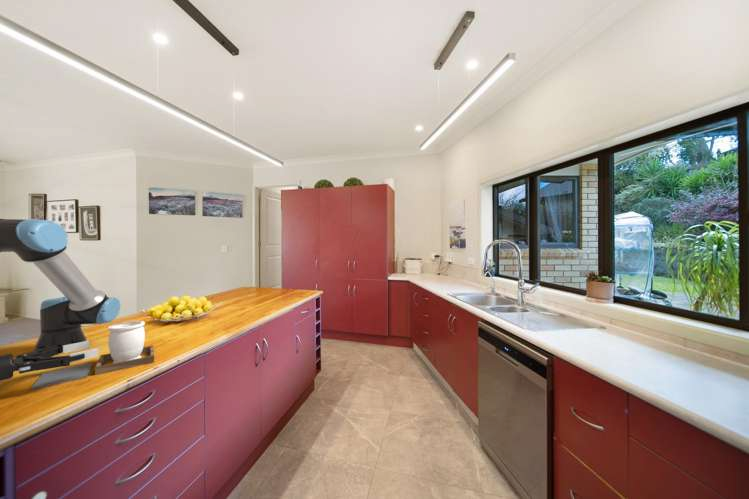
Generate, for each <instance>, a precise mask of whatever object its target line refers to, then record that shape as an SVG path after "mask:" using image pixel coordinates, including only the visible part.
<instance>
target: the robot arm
mask: <svg viewBox="0 0 749 499" xmlns="http://www.w3.org/2000/svg"><path fill="white" fill-rule="evenodd" d="M68 236H69V235H68V233H67V231H66V230H65V229H64V227H62V225H60V224H59V223H57V222H54V221H51V220H47V219H39V218H29V219H18V218H17V219H15V218H13V219H12V218H11V219H10V218H9V219H8V218H0V253H3V252H4V253H14V254H16V255H17V256H18V258H20V260H22V261H23V262H25V263H32V264H33V265H34V266H36V267H37V269H39V270H40V272H41V273H42V274H43V275H44V276H46V278H47V279H48V280H49V281H50V282H51V284H53V286H55V287H56V289H57V290H59V292H60V293H61V294H63V296H62V297H55V298H50V299H45V300H43V301H42V302H41V303H40V309H39V312H40V313H39V315H40V320H39V322H40V333H39V334H40V335H39V337H38V338H37V341H36V342H35V345H34V347H33V351H31V352H28V353H23V354H18V355H16V358H15V359H14V354H13V353H7V354H1V355H0V382H2V381H5V380H10V379H12V378H13V377H14V372H18V373H19V374H26V373H30V372H36V371H37V372H38V371H42V370H43V371H44V370H50V369H56V368H63V367H65V368H68V367H71V363H75V362H79V361H84V360H88V359H92V358H96V357H99V347H97V348H92V349H90V347H91V346H90V342H91V341H90V340H87V338H86V336H85V335H86V334H84V331H83V329H82V325H102V324H103V325H104V324H108V323H111V322H112V321H114V320H115V319H116V318H117V316H118V315H119V313H120V310H121V301H120V300H119V298H117V297H113V296H112V297H109V296H108V295H107V294H105V292H104V291H102V290H101V289H99V290H98V289H96V288H95V286H94V285H93V284H92V283H91V282H90V280H89V279H88V278H87V277H86V276H85V275H84V273H83V272H82V271H81V270H80V268H78V266H77V265H76V263H74V261H73V260H72V259H71V258H70V256H69V255H68V254H67V252H66V250H67V247H68V246H67V245H68V242H69V239H68ZM86 349H87V350H86ZM81 350H82V351H81ZM83 350H84V351H83ZM76 351H79V352H76ZM72 352H74V353H72ZM67 353H70V354H69V355H62V356H61V355H60V354H67ZM57 355H60V356H57Z"/></svg>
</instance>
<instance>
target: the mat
mask: <svg viewBox="0 0 749 499" xmlns="http://www.w3.org/2000/svg"><path fill="white" fill-rule="evenodd" d="M92 366H93V362H90V363H85V364H81V365H75V366H68V367H65V368H59V369H53V370H49V371H44V372H42V374H41V375H40V376H39V377H38V378H37V380H36V381H35V382H34V384H32V385H31V387H30V390H31V391H32V390H36V389H40V388H46V387H50V386H55V385H58V384H62V383H63V384H64V383H68V382H73V381H76V380H82V379H85V378H88V375H89V374H90V371H91V369H92Z"/></svg>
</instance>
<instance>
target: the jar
mask: <svg viewBox="0 0 749 499" xmlns="http://www.w3.org/2000/svg"><path fill="white" fill-rule="evenodd" d="M145 324H146V323H145V321H144V320H133V321H126V322H120V323H115V324H112V325H110V326H108V331H109V335H108V342H107V343H108V349H109V350H108V351H109V354H111V357H112V359H113V360H112V361H113V362H112V363H111V364H113V363H118V362H123V361H128V360H133V359H138V358H143V356H141V355H142V354H141V352H142V350H143V347H145V340H146V330H145V327H144V326H145Z"/></svg>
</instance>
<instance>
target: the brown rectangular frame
mask: <svg viewBox="0 0 749 499" xmlns="http://www.w3.org/2000/svg"><path fill="white" fill-rule="evenodd" d="M154 349H155V348H154V345H148V346H143V350H142V352H141V354H140V355H143V354H149V355H148V356H142V358H138V359H133V360H128V361H123V362H118V363H113V362H112V363H113V364H112V363H110V364H104V363H105V362H108V361H114V360H113V359H112V357H111V354H110V353H106V354H100V355H99V358H98V361H97V363H96V366H95V368H94V370H95V373H94V374H95V376H98V375H101V374H106V373H111V372H116V371H119V370H120V371H121V370H126V369H130V368H134V367H139V366H143V365H147V364H152V363H155V350H154Z"/></svg>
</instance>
